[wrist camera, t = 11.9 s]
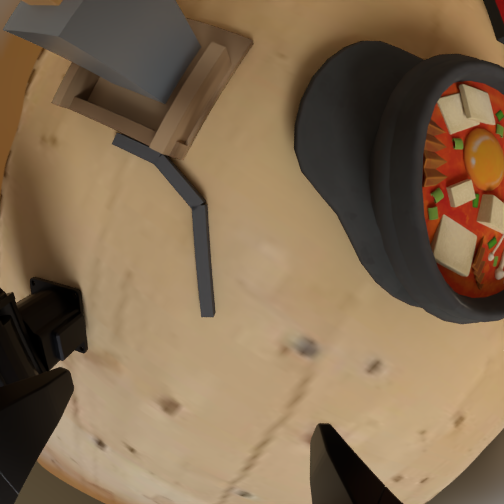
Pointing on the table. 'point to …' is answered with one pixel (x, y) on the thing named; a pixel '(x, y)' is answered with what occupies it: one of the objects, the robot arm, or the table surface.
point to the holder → (151, 111)
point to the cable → (198, 215)
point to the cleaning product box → (496, 17)
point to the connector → (114, 39)
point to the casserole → (413, 172)
